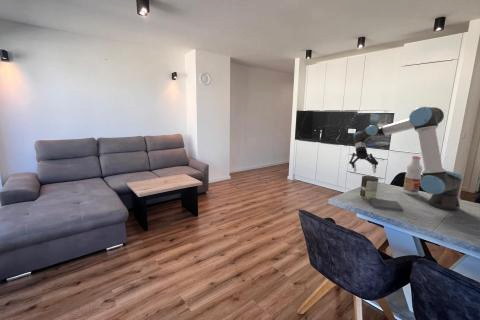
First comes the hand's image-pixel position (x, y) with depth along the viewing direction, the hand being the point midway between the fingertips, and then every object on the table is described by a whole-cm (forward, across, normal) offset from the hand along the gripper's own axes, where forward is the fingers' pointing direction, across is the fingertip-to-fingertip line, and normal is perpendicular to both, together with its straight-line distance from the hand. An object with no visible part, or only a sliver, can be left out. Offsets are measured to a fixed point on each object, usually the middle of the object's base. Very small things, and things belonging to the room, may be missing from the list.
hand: (365, 172), depth 173 cm
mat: (+29, -6, +7) cm, 31 cm away
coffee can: (+19, 0, -4) cm, 19 cm away
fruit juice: (+7, -35, -15) cm, 39 cm away
